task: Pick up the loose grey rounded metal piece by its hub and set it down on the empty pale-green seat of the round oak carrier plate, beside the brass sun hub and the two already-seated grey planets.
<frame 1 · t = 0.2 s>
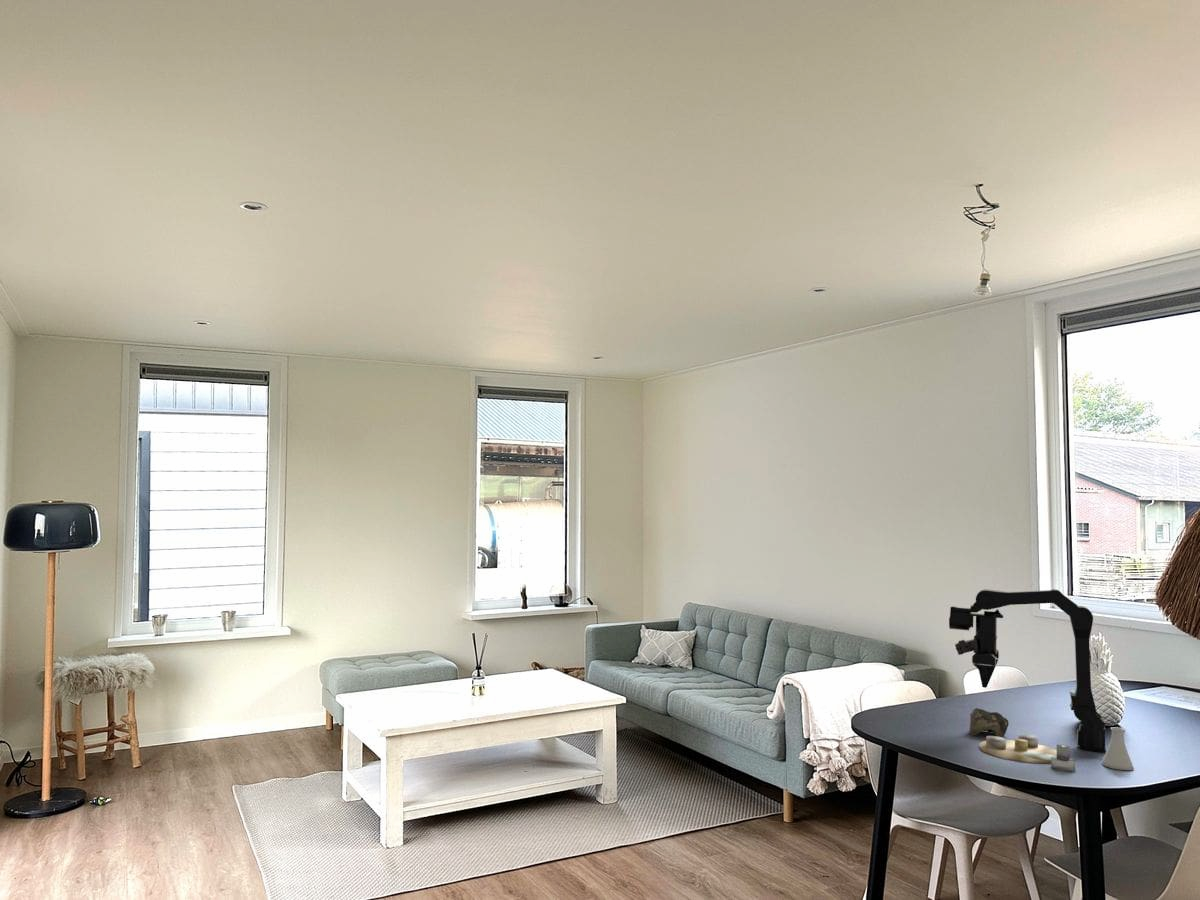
hand: (985, 685, 267), 15 cm above the table, fingers open, 9 cm apart
flask: (1117, 768, 236), on the table
grey rounded metal piece: (1063, 769, 232), on the table
carrier plate: (1021, 752, 247), on the table
fossil: (988, 736, 267), on the table
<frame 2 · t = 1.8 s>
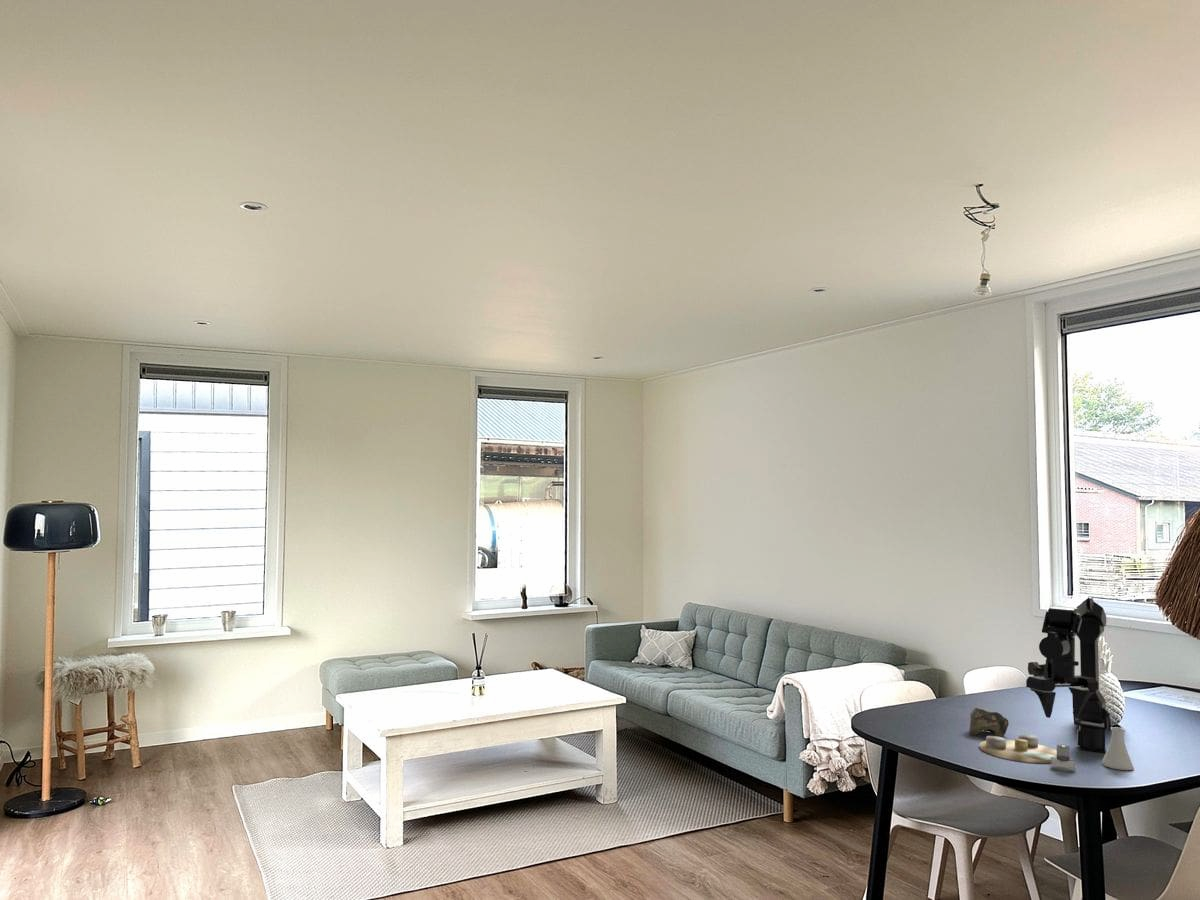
hand: (1062, 716, 233), 13 cm above the table, fingers open, 9 cm apart
nothing on the table moved.
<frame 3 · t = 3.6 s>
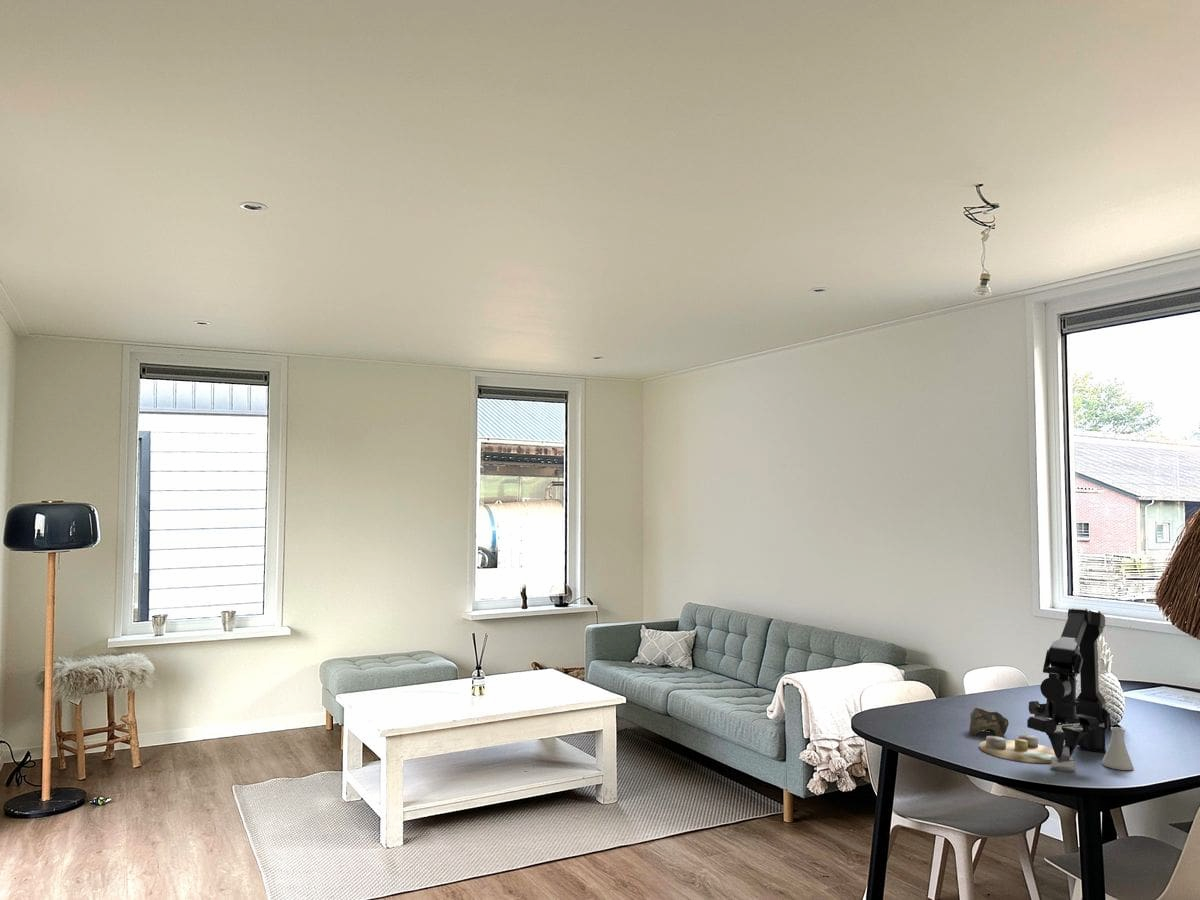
hand: (1063, 757, 232), 3 cm above the table, fingers closed on grey rounded metal piece, 3 cm apart
grey rounded metal piece: (1063, 769, 232), on the table, touching gripper
everything else where it was.
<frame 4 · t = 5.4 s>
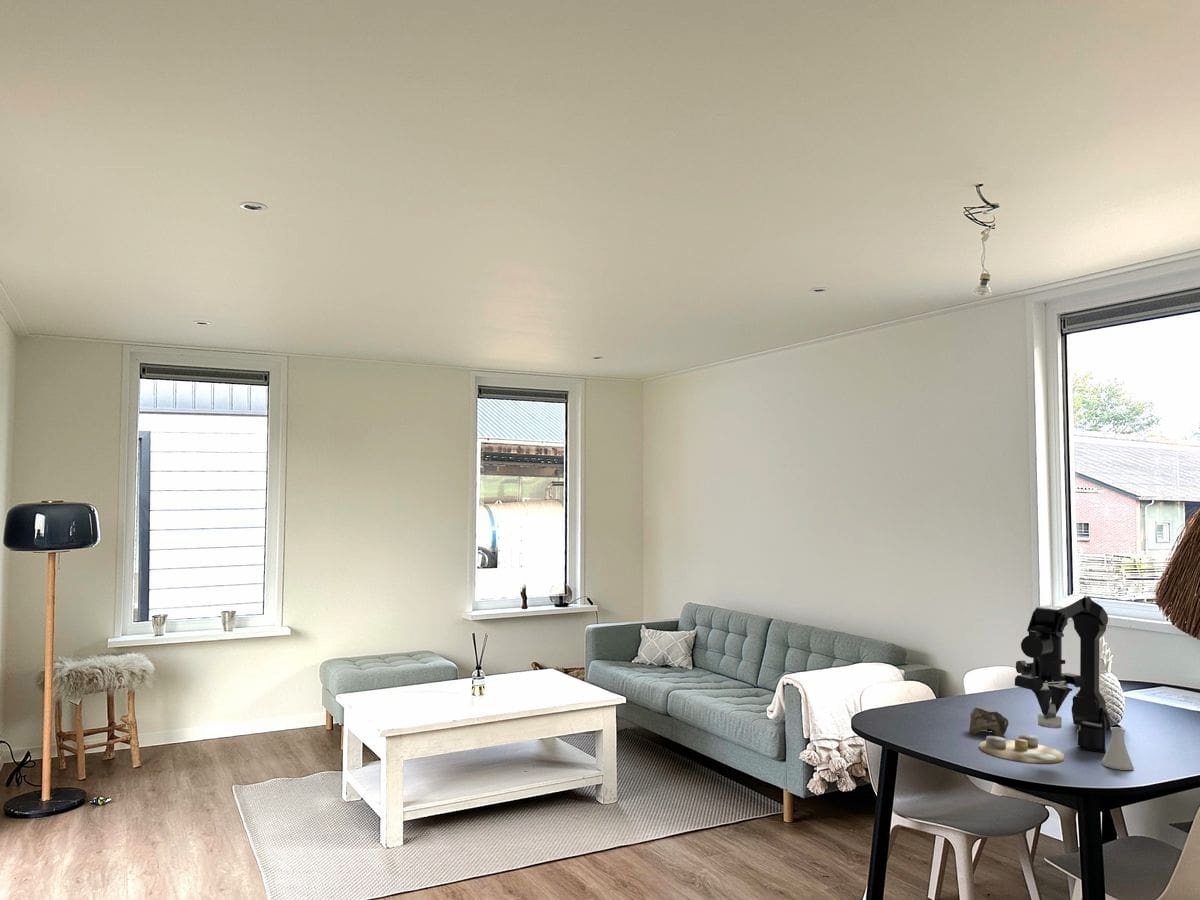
hand: (1049, 714, 239), 13 cm above the table, fingers closed on grey rounded metal piece, 3 cm apart
grey rounded metal piece: (1049, 725, 238), point 10 cm above the table, touching gripper
everything else where it was.
when the fingers open (5 cm above the table, at t = 7.4 s): grey rounded metal piece stays where it is, resting on carrier plate.
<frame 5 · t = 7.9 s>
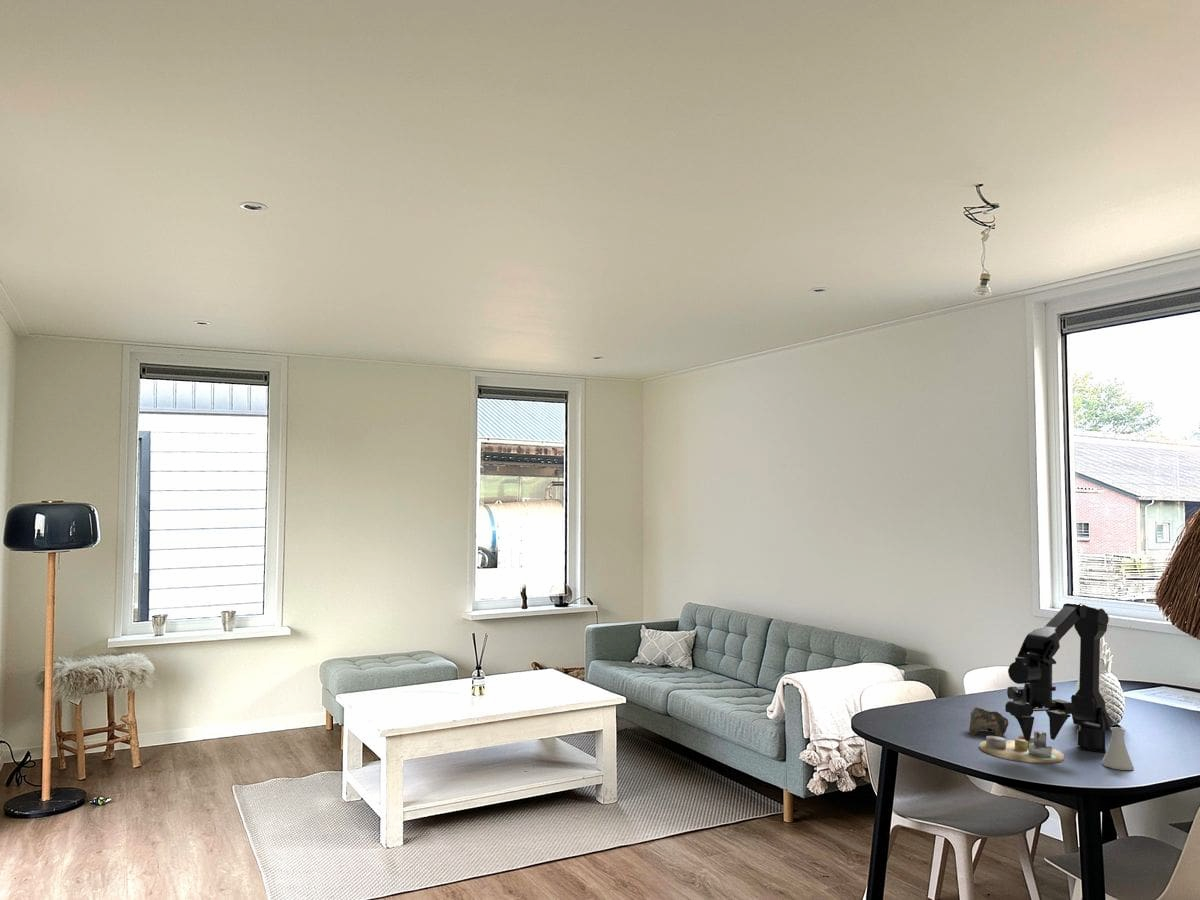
hand: (1039, 740, 242), 5 cm above the table, fingers open, 8 cm apart
grey rounded metal piece: (1039, 755, 241), point 1 cm above the table, touching carrier plate
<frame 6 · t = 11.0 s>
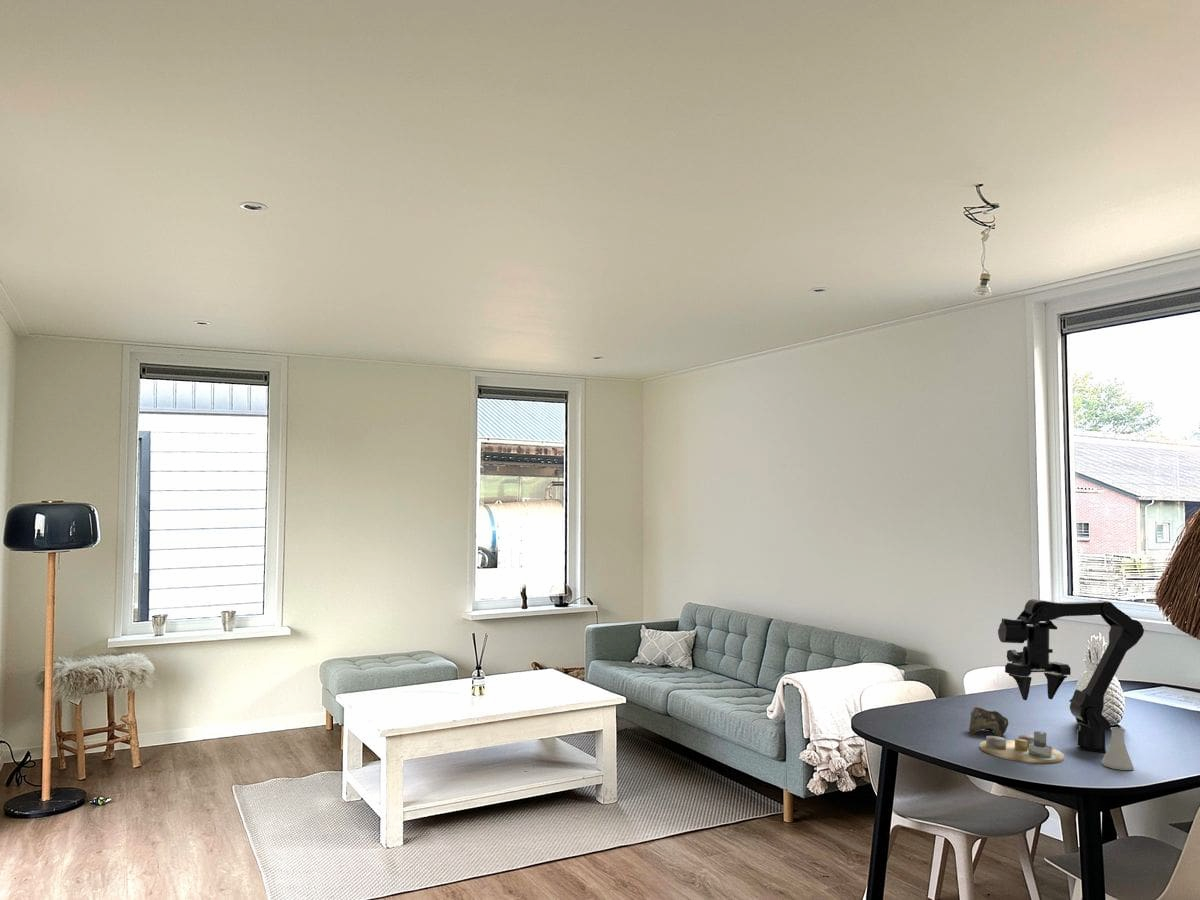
hand: (1037, 699, 256), 13 cm above the table, fingers open, 9 cm apart
at the end: grey rounded metal piece 0.1 cm from the target spot, point 1.0 cm above the table; grey rounded metal piece tilted 0°; the gripper is holding nothing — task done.
